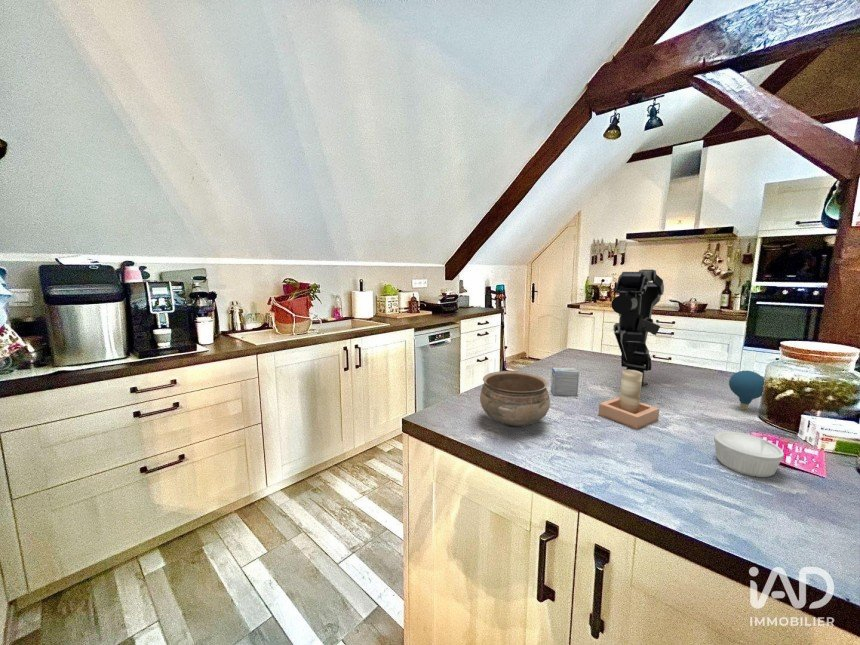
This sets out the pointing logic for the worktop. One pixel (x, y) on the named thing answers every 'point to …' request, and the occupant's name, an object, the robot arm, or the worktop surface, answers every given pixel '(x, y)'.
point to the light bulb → (746, 386)
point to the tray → (628, 414)
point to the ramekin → (747, 453)
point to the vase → (630, 391)
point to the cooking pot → (515, 397)
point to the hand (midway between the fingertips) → (626, 357)
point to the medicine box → (564, 381)
